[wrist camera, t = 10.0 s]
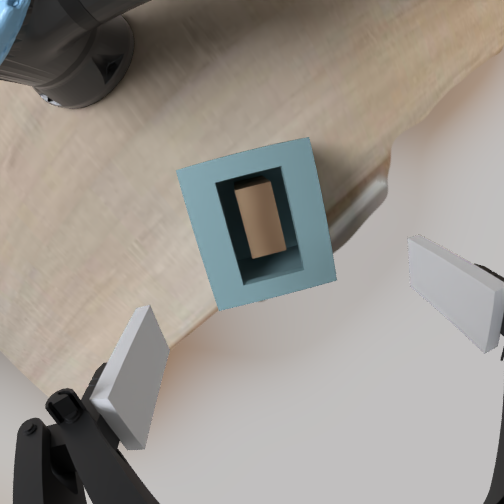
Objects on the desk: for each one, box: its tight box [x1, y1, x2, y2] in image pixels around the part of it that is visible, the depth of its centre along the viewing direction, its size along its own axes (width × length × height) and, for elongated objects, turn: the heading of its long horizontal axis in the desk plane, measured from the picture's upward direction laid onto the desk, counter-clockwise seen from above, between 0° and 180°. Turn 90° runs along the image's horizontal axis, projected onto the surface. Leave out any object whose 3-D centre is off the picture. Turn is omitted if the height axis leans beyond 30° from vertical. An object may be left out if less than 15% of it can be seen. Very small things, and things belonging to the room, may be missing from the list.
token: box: [234, 175, 286, 259], centre depth 35 cm, size 4×7×9 cm, turn 14°
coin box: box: [176, 137, 337, 311], centre depth 34 cm, size 12×14×12 cm
